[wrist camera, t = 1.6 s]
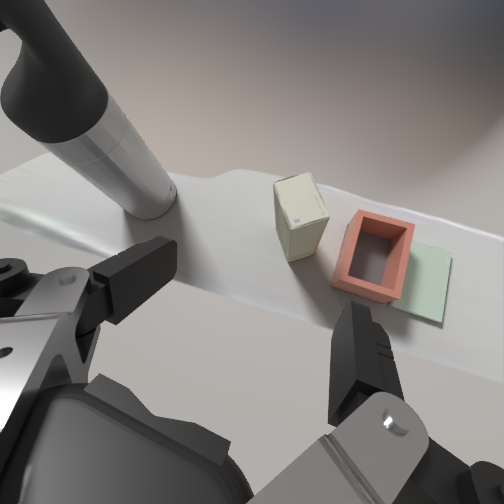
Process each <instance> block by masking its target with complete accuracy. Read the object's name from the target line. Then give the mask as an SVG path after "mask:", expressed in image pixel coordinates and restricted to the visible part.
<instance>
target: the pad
mask: <svg viewBox="0 0 504 504" xmlns="http://www.w3.org/2000/svg"><path fill="white" fill-rule="evenodd" d="M451 255H452V251H448V250H445V249H441V248H437V247H434V246H430V245H427V244H423V243H419V242H416V241H412V242H411V247H410V252H409V257H408V262H407V267H406V272H405V278H404V283H403V288H402V293H401V298H400V300H395V301H391V302H390V305H389V306H390V307H393V308H396V309H399V310H402V311H405V312H408V313H411V314H414V315H417V316H420V317H423V318H426V319H429V320H432V321H435V322H437V323H439V322H442V318H443V311H444V304H445V297H446V290H447V283H448V276H449V269H450V262H451Z"/></svg>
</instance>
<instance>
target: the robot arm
mask: <svg viewBox="0 0 504 504" xmlns="http://www.w3.org/2000/svg"><path fill="white" fill-rule="evenodd" d="M6 29H11V30H12V31H14V32H15V33H16V34H17V35H18V36H19V37H20V39H21V40H22V47H21V52H20V55H19V57H18V60H17V62H16V64H15V65H14V67H13V68H12V70H11V71H10V73H9V74H8V76H7V78H6V79H5V81H4V84H3V86H2V90H1V96H0V101H1V106H2V109H3V111H4V113H5V114H6V115H7V117H8V118H9V119H10V120H11V121H12V122H13V123H14V124H15V125H16V126H18V127H19V128H20V129H21V130H23V131H24V132H25V133H27V134H28V135H29V136H31V137H32V138H33V139H35V140H36V141H37V142H38V143H40V144H41V145H42V146H44V147H45V148H46V149H48V150H49V151H50V152H51V153H53V154H54V155H55V156H57V157H58V158H59V159H60V160H62V161H63V162H64V163H66V164H67V165H68V166H70V167H71V168H72V169H73V170H75V171H76V172H77V173H79V174H80V175H81V176H82V177H84V178H85V179H86V180H88V181H89V182H90V183H91V184H93V185H94V186H95V187H97V188H98V189H99V190H100V191H102V192H103V193H104V194H106V195H107V196H108V197H109V198H111V199H112V200H113V201H115V202H116V203H117V204H118V205H120V206H121V207H122V208H123V209H125V210H126V211H127V212H129V213H130V214H131V215H133V216H134V217H136V218H138V219H143V220H150V219H154V218H157V217H159V216H161V215H163V214H164V213H166V212H167V211H168V210H169V209H170V208H171V206H172V204H173V203H174V200H175V197H176V188H175V184H174V183H173V181H172V180H171V178H170V177H169V176H168V174H167V173H166V171H165V170H164V168H163V167H162V166H161V164H160V163H159V161H158V160H157V159H156V157H155V156H154V155H153V153H152V152H151V150H150V149H149V147H148V146H147V145H146V143H145V142H144V140H143V139H142V138H141V136H140V135H139V133H138V132H137V131H136V129H135V128H134V127H133V125H132V124H131V122H130V121H129V119H128V118H127V116H126V115H125V114H124V112H123V111H122V110H121V108H120V107H119V105H118V104H117V103H116V101H115V100H114V98H113V97H112V96H111V94H110V93H109V91H108V90H107V89H106V87H105V86H104V84H103V83H102V82H101V81H100V79H99V78H98V76H97V75H96V74H95V72H94V71H93V69H92V68H91V67H90V65H89V64H88V63H87V61H86V60H85V59H84V57H83V56H82V54H81V53H80V51H78V49H77V47H76V46H75V44H74V43H73V42H72V40H71V39H70V37H69V36H68V35H67V33H66V32H65V30H64V29H63V28H62V26H61V25H60V23H59V22H58V21H57V19H56V18H55V16H54V15H53V14H52V12H51V10H50V9H49V7H48V6H47V4H46V3H45V1H44V0H0V32H1V31H3V30H6ZM176 270H177V243H176V241H175V240H172V239H169V238H166V237H163V236H158V237H156V238H154V239H152V240H150V241H148V242H145V243H141V244H137V245H134V246H132V247H130V248H128V249H126V251H122V252H120V253H118V255H114V256H112V257H110V258H108V259H106V260H104V261H102V262H100V263H98V264H96V265H94V266H92V267H91V268H89V269H87V270H86V269H83V268H80V267H66V268H60V269H57V270H54V271H51V272H49V273H47V274H46V275H44V274H36V273H29V270H28V268H27V265H26V263H25V261H23V260H20V259H15V258H4V259H0V504H504V469H502V468H501V467H499V466H497V465H495V464H492V463H490V462H486V461H479V462H476V463H474V464H473V465H471V466H470V467H469V466H468V465H467V464H465V463H464V462H462V461H461V460H460V459H458V458H457V457H455V456H454V455H453V454H451V453H450V452H448V451H447V450H446V449H444V448H443V447H442V446H440V445H439V444H437V443H436V442H435V441H434V440H432V439H431V438H430V437H429V436H428V433H427V431H426V428H425V426H424V424H423V422H422V421H421V419H420V417H419V416H418V415H417V413H416V412H415V411H414V410H413V409H412V408H411V407H410V406H409V405H408V404H407V403H406V402H405V401H404V397H403V393H402V388H401V385H400V381H399V377H398V372H397V369H396V365H395V361H394V357H393V352H392V350H391V344H390V340H389V336H388V335H387V333H386V332H385V331H384V329H383V328H382V326H381V325H380V324H378V323H375V322H372V317H371V311H370V308H369V307H368V306H365V305H362V304H359V303H356V302H353V301H350V300H349V301H348V302H347V304H346V306H345V308H344V310H343V312H342V314H341V316H340V318H339V320H338V322H337V324H336V326H335V329H334V331H333V335H332V340H331V359H330V361H331V362H330V384H329V407H328V408H329V409H328V424H330V425H332V426H335V427H337V428H336V429H334V431H332V432H331V433H330V434H329V435H326V434H325V435H323V436H322V437H320V438H319V439H318V440H317V441H316V442H314V443H313V444H312V445H311V446H310V447H309V448H308V449H307V450H305V451H304V452H303V453H302V454H301V455H300V456H299V457H298V458H297V459H296V460H294V461H293V462H292V463H291V464H290V465H289V466H288V467H286V469H284V470H283V471H282V472H281V473H280V474H279V475H278V476H276V477H275V478H274V479H273V480H272V481H271V482H270V483H269V484H267V485H266V486H265V487H264V488H263V489H262V490H261V491H260V492H259V493H257V494H256V495H255V496H254V494H253V492H252V490H251V488H250V485H249V483H248V481H247V479H246V478H245V476H244V474H243V472H242V471H241V470H240V468H239V467H238V465H237V464H236V463H235V461H234V460H233V459H232V458H231V457H230V456H229V455H228V450H229V447H230V443H231V442H230V441H228V440H227V439H225V438H223V437H221V436H219V435H217V434H215V433H213V432H211V431H209V430H207V429H206V428H204V427H202V426H199V425H198V424H196V423H192V422H186V421H180V420H175V419H169V418H163V417H157V416H155V415H153V414H152V413H150V411H149V410H148V409H147V408H146V407H145V406H144V405H143V404H142V403H141V401H139V399H138V398H137V397H136V396H135V395H134V394H133V393H132V392H131V391H130V389H128V388H127V387H125V386H123V385H121V384H119V383H117V382H115V381H113V380H111V379H110V378H108V377H106V376H104V375H102V374H99V375H98V376H96V377H95V378H94V379H93V380H92V381H91V382H90V383H88V371H89V367H90V364H91V361H92V357H93V354H94V350H95V347H96V343H97V340H98V337H99V333H100V324H101V323H102V322H103V321H104V320H106V321H108V322H110V323H113V324H115V325H117V324H118V323H120V322H121V321H122V320H123V319H124V318H126V317H127V316H128V315H129V314H131V313H132V312H133V311H134V310H135V309H136V308H138V307H139V306H140V305H142V304H143V303H144V302H145V301H146V300H147V299H149V298H150V297H151V296H152V295H154V294H155V293H156V292H157V291H159V290H160V289H161V288H162V287H163V286H165V285H166V284H167V283H168V282H169V281H171V280H172V279H173V277H174V275H175V273H176Z"/></svg>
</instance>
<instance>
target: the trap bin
mask: <svg viewBox="0 0 504 504" xmlns="http://www.w3.org/2000/svg"><path fill="white" fill-rule="evenodd" d="M414 227H415V224H412V223H408V222H404V221H401V220H397V219H393V218H389V217H385V216H382V215H378V214H374V213H370V212H366V211H363V210H359V209H358V211H357V212H356V214H355V215H354V217H353V218H352V220H351V221H350V222H349V224H348V225H347V229H346V233H345V236H344V240H343V243H342V247H341V250H340V254H339V257H338V261H337V264H336V268H335V271H334V275H333V278H332V282H331V287H334V288H337V289H340V290H343V291H346V292H349V293H352V294H355V295H358V296H361V297H364V298H367V299H369V300H372V301H375V302H378V303H381V304H382V303H386V302H391V301H395V300H400V298H401V293H402V288H403V283H404V278H405V272H406V267H407V262H408V257H409V252H410V247H411V242H412V237H413V232H414Z"/></svg>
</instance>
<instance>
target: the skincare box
mask: <svg viewBox="0 0 504 504" xmlns="http://www.w3.org/2000/svg"><path fill="white" fill-rule="evenodd" d="M273 190H274V206H275V222H276V231H277V234H278V237H279V240H280V243H281V245H282V248H283V251H284V254H285V256H286V259H287V262H291V261H295V260H298V259H301V258H305V257H308V256H311V255H313V254H315V251H316V249H317V246H318V244H319V242H320V239H321V237H322V234H323V232H324V230H325V227H326V225H327V222H328V220H329V218H330V214H329V212H328V209H327V207H326V205H325V202H324V200H323V198H322V196H321V194H320V192H319V189H318V187H317V185H316V183H315V181H314V179H313V177H312V175H311V174H310V172H309V171H308V172H304V173H301V174H297V175H294V176H291V177H287V178H284V179H281V180H278V181H275V182H274V183H273Z"/></svg>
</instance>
